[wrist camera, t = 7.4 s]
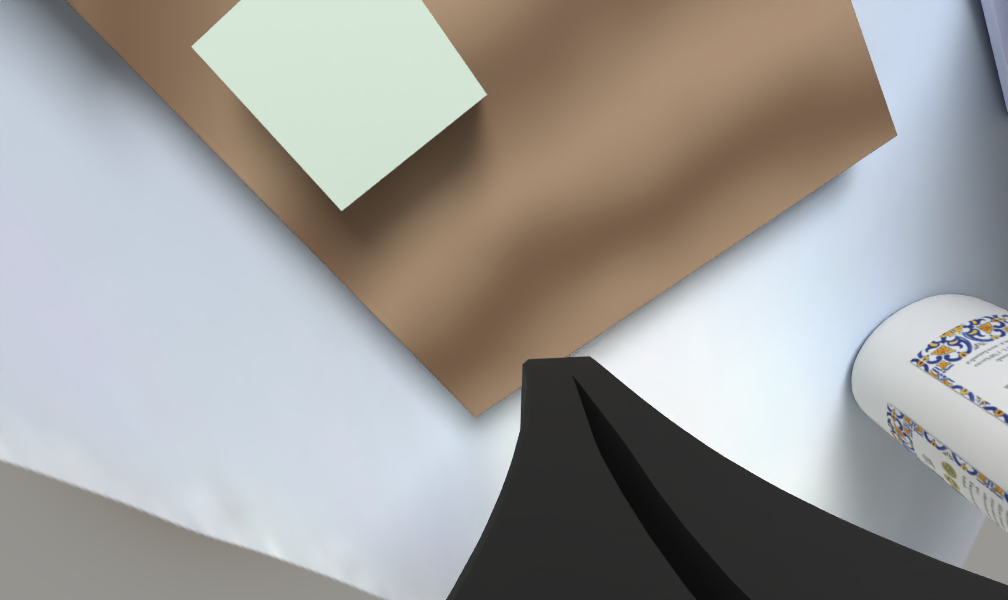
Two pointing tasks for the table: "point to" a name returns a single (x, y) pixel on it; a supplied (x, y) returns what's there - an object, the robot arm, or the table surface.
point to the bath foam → (944, 392)
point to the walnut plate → (552, 161)
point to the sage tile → (342, 82)
